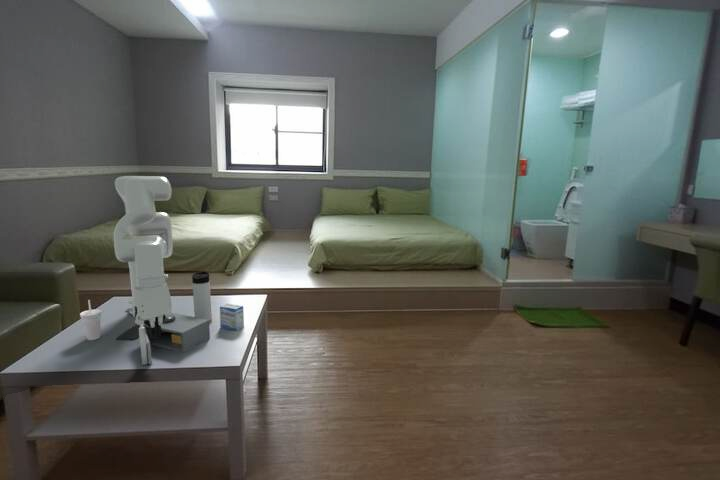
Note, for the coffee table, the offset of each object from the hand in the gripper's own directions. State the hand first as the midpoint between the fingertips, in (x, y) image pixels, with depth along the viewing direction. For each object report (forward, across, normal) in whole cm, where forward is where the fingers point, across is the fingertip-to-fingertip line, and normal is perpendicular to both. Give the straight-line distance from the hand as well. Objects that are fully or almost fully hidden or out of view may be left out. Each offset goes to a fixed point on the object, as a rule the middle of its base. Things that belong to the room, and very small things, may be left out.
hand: (155, 337), depth 123 cm
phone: (+9, -7, -28) cm, 30 cm away
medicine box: (+8, -31, -3) cm, 32 cm away
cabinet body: (+8, -12, -9) cm, 17 cm away
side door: (+8, +1, -8) cm, 11 cm away
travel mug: (+8, -27, -17) cm, 33 cm away
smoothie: (+8, +5, -34) cm, 36 cm away
